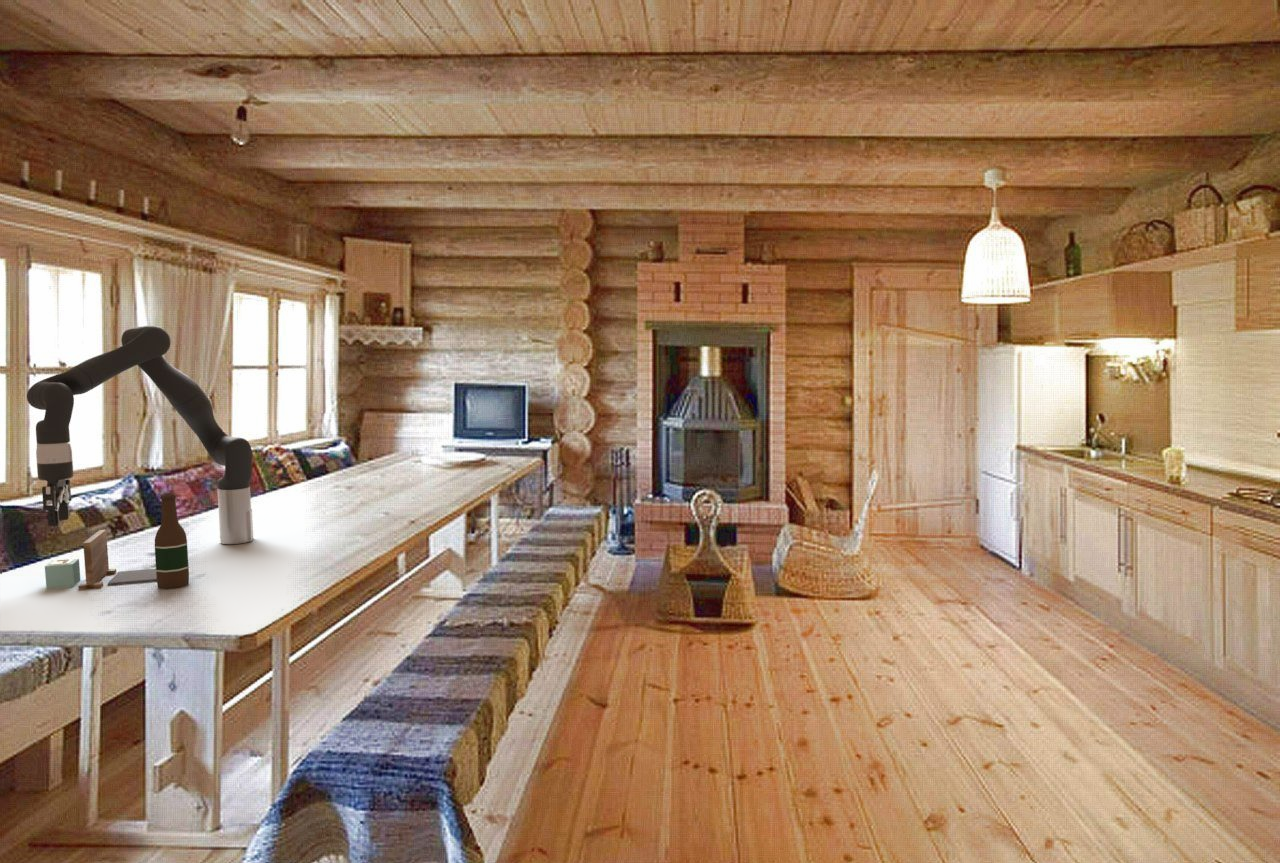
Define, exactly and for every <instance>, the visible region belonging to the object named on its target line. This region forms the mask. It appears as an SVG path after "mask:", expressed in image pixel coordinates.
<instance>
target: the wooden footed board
mask: <svg viewBox="0 0 1280 863" xmlns="http://www.w3.org/2000/svg"><path fill="white" fill-rule="evenodd" d="M107 537H108V536H107V529H99V530H98V531H97V532H95V533H94V534H93V535H91V536H90V537H89V538H88V539H86V540H85V541H83V544H82V545H83V556H84V557H83V558H84V571H85V572H84V573H85V583H80V584H79V585H78V586H77V587H78V588H77V589H78V590H79V591H80V590H82V591H83V590H91V589H93V590H94V589H101V587H102V586H103V587H104V581H101V580H102V579H103V578H104V579H105V578H106V577H107V576H108V575H109V576H110V575H116V574H117V568H110V565H109V554H108V552H109V551H108V538H107ZM104 579H103V580H104ZM103 587H102V588H103Z"/></svg>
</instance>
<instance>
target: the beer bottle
mask: <svg viewBox="0 0 1280 863" xmlns="http://www.w3.org/2000/svg"><path fill="white" fill-rule="evenodd" d="M176 498H177V496H176V493H174V492H163V493H161V494H160V498H159V499H160V500H161V520H160V521H161V522H160V526H159V528H158V529H157V530H156V534H155V538H154V558H155V559H154V560H155V569H156V577H157V581H156V585H157V588H158V589H161V590H171V589H172V590H173V589H180V588H183V587H186V586H189V583H190V570H189V568H190V567H189V553H188V552H189V551H188V537H187V533H186V531H185V529H184V528H183V526H182V525H181V524H180V522H179V519H178V512H177V503H176Z"/></svg>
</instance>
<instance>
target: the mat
mask: <svg viewBox="0 0 1280 863" xmlns="http://www.w3.org/2000/svg"><path fill="white" fill-rule="evenodd" d="M150 582H157V577H156V568H150V569H149V568H147V569H135V570H134V569H133V570H123V571H120V570H119V571H118V572H116V573H115V574H114V576H113V577H112V578H111V579H110V580H109V581H108V582H107V586H114V584H118V585H127V584H139V583H141V584H142V583H150Z"/></svg>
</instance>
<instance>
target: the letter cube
mask: <svg viewBox="0 0 1280 863" xmlns="http://www.w3.org/2000/svg"><path fill="white" fill-rule="evenodd" d="M80 570H81V569H80V558H71V559H70V558H68V559H56V560H51V561H50V562H48V563H47V564H45V565H44V574H45V575H44V576H45V585H46V586H45V588H46V590H50V589H63V588H73V587H75V586H77V585H78V584H79V583H80V582H81V571H80Z"/></svg>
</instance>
